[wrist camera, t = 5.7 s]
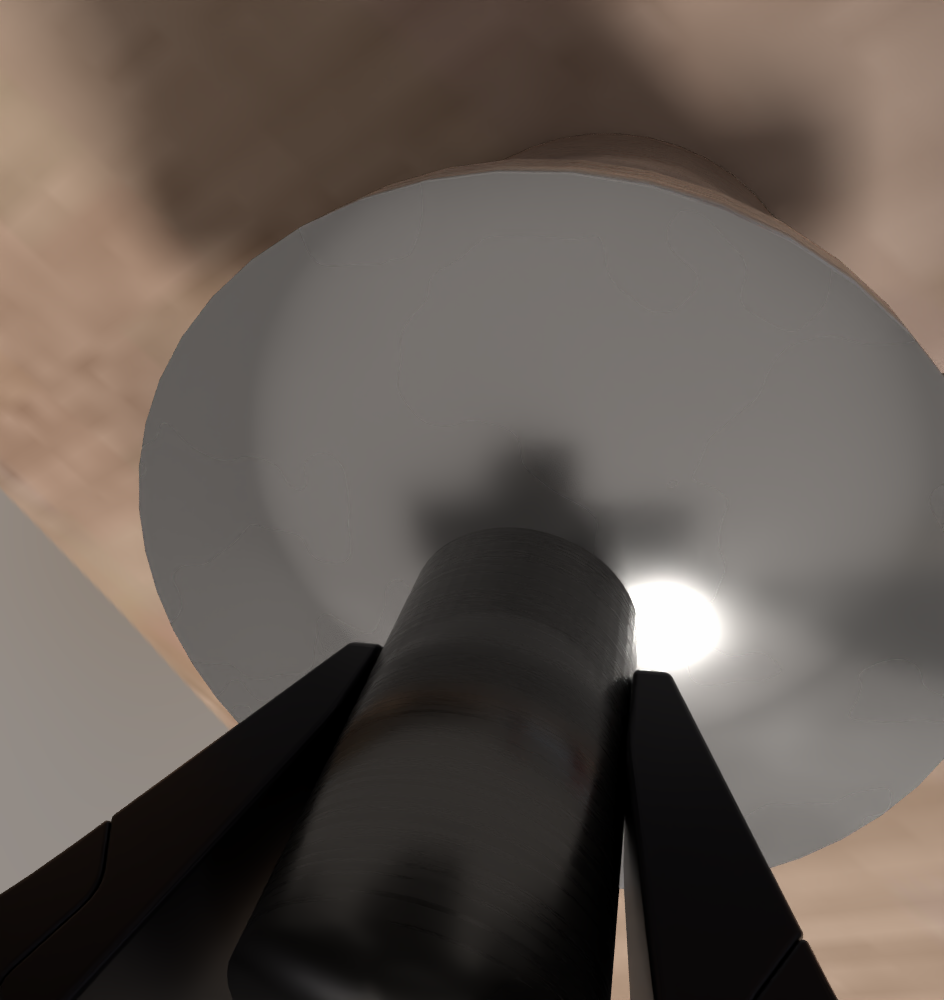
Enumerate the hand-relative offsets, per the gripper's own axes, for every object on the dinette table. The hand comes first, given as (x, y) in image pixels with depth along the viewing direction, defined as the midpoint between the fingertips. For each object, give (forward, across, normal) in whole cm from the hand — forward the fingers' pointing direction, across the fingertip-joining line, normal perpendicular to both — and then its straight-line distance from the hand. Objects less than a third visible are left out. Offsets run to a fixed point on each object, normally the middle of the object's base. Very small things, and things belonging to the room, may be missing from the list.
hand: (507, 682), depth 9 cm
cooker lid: (+2, 0, 0) cm, 2 cm away
